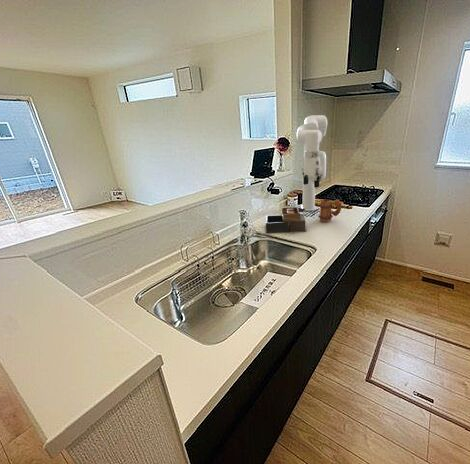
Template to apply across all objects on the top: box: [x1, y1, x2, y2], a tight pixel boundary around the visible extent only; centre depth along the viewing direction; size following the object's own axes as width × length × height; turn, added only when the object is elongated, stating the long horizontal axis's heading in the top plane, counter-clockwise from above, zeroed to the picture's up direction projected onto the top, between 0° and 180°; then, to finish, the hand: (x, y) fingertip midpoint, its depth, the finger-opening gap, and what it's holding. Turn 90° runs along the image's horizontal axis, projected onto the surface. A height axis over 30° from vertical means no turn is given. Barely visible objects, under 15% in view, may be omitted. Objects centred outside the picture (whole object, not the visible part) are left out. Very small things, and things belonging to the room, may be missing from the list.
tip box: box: [281, 204, 306, 222], centre depth 154 cm, size 13×13×7 cm
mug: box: [317, 198, 343, 223], centre depth 165 cm, size 15×8×15 cm, turn 74°
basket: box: [265, 214, 290, 234], centre depth 157 cm, size 14×14×7 cm
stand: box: [289, 213, 307, 233], centre depth 157 cm, size 12×10×7 cm
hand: (311, 185), depth 145 cm, fingers open, 9 cm apart
